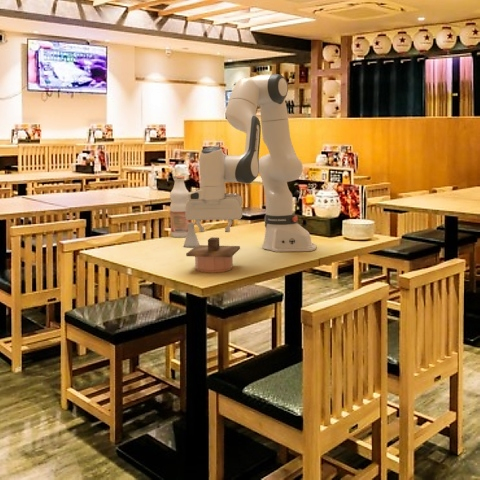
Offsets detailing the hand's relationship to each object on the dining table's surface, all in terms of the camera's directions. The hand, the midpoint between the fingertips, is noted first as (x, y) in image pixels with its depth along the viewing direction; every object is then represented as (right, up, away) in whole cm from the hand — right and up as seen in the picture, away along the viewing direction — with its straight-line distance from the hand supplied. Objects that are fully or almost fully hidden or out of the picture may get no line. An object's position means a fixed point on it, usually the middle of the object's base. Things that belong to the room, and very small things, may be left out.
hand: (214, 232), depth 234 cm
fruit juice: (-19, -1, +74) cm, 76 cm away
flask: (-12, -6, +48) cm, 49 cm away
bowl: (0, -13, +2) cm, 13 cm away
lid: (0, -7, +1) cm, 7 cm away
